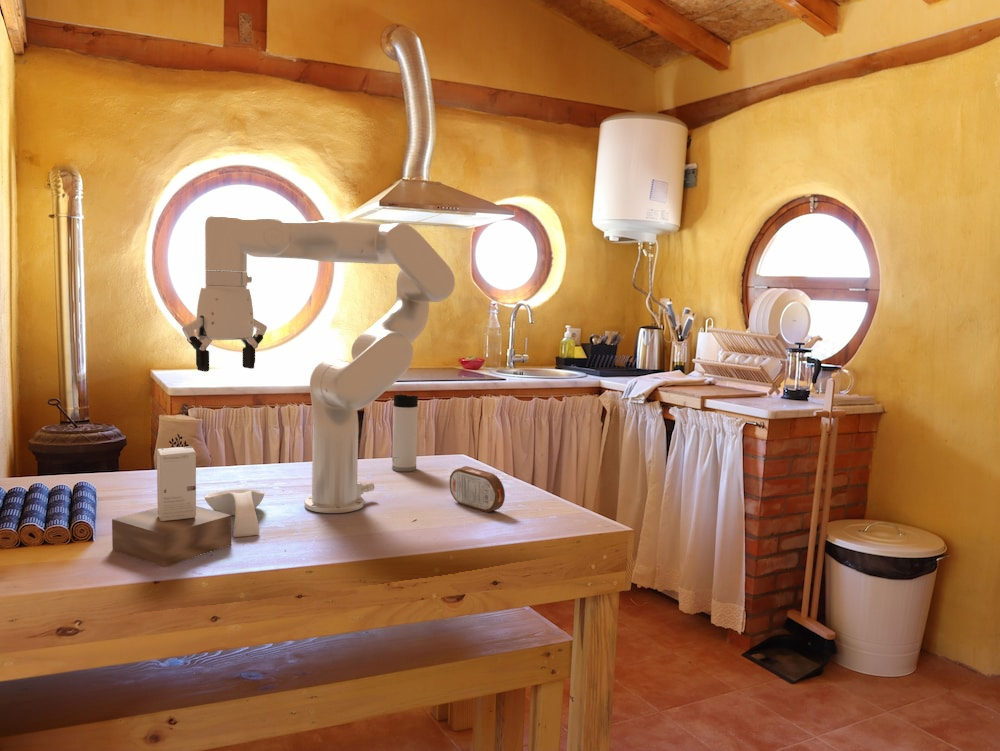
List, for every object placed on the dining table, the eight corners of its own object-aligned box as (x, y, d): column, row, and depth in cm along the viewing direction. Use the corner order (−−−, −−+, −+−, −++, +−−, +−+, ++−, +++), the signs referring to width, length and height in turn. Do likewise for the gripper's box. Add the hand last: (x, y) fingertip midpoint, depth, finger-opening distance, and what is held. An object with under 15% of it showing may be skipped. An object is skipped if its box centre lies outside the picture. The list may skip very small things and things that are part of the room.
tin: (505, 513, 171) (506, 475, 170) (495, 516, 168) (496, 477, 167) (456, 499, 181) (457, 462, 180) (446, 501, 178) (447, 464, 177)
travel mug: (388, 471, 204) (390, 394, 202) (396, 465, 210) (397, 390, 208) (412, 473, 203) (414, 395, 201) (418, 467, 209) (420, 392, 207)
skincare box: (160, 522, 138) (158, 455, 136) (156, 514, 142) (154, 448, 140) (197, 517, 141) (196, 451, 139) (193, 509, 145) (192, 445, 143)
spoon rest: (201, 507, 168) (201, 473, 167) (259, 502, 173) (259, 470, 172) (215, 541, 147) (215, 503, 146) (280, 534, 152) (280, 498, 151)
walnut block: (180, 532, 151) (180, 501, 151) (231, 547, 144) (231, 515, 144) (112, 552, 139) (112, 519, 139) (164, 569, 132) (164, 534, 132)
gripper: (254, 281, 162) (254, 365, 164) (173, 279, 149) (174, 370, 151) (276, 282, 157) (275, 368, 159) (193, 280, 144) (194, 374, 146)
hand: (226, 369), depth 155 cm, fingers open, 9 cm apart
